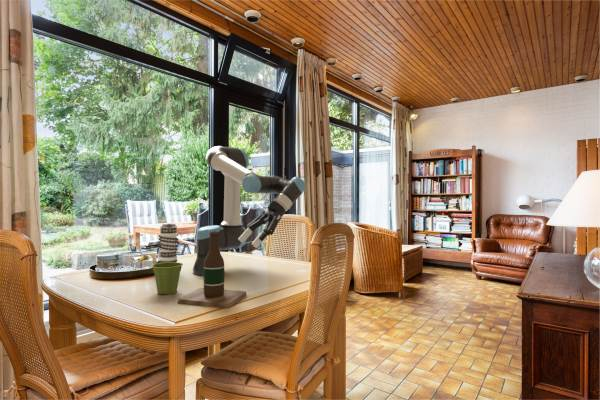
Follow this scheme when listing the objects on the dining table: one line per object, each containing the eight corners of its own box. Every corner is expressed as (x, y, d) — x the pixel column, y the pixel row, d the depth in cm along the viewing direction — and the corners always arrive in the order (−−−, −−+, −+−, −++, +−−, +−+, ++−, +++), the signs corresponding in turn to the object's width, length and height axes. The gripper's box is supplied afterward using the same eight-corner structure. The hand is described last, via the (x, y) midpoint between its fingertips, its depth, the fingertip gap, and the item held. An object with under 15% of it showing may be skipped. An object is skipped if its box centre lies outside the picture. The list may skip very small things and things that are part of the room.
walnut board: (177, 303, 124) (177, 299, 124) (200, 291, 139) (200, 287, 139) (228, 308, 119) (228, 303, 119) (246, 295, 134) (246, 291, 134)
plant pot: (189, 291, 139) (189, 263, 139) (164, 298, 129) (164, 268, 129) (169, 287, 145) (170, 260, 145) (144, 293, 135) (145, 265, 135)
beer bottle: (221, 298, 125) (222, 233, 125) (200, 297, 125) (201, 232, 125) (226, 292, 133) (226, 230, 133) (206, 291, 133) (207, 230, 133)
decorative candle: (157, 272, 171) (158, 223, 171) (177, 271, 175) (177, 222, 175) (158, 276, 163) (159, 224, 162) (179, 275, 167) (179, 224, 166)
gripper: (300, 214, 138) (266, 254, 130) (271, 210, 159) (240, 244, 151) (289, 201, 135) (254, 241, 127) (261, 199, 156) (229, 233, 148)
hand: (246, 243), depth 139 cm, fingers open, 13 cm apart
